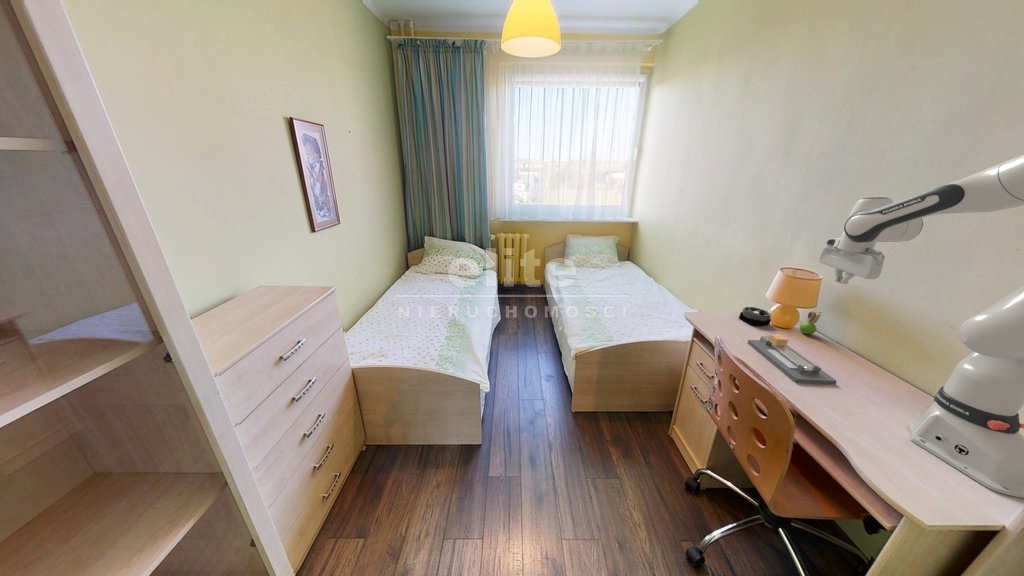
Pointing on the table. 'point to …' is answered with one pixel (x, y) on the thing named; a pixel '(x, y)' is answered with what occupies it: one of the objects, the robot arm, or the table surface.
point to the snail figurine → (810, 323)
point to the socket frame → (790, 364)
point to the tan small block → (778, 340)
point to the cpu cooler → (755, 316)
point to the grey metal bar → (794, 358)
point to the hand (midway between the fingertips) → (840, 282)
